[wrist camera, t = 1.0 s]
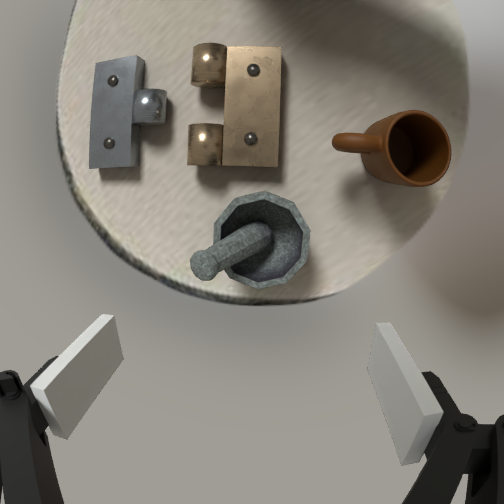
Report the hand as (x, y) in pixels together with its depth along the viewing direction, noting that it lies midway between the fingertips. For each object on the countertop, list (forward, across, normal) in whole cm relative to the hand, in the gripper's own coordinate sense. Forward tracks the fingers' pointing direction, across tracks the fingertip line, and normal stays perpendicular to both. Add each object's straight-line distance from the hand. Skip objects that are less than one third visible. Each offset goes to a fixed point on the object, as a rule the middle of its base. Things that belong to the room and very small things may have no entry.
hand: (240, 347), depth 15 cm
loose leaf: (+25, -16, +16) cm, 33 cm away
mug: (+25, +13, +11) cm, 30 cm away
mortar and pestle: (+24, 0, +1) cm, 25 cm away
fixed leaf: (+24, -3, +15) cm, 29 cm away
